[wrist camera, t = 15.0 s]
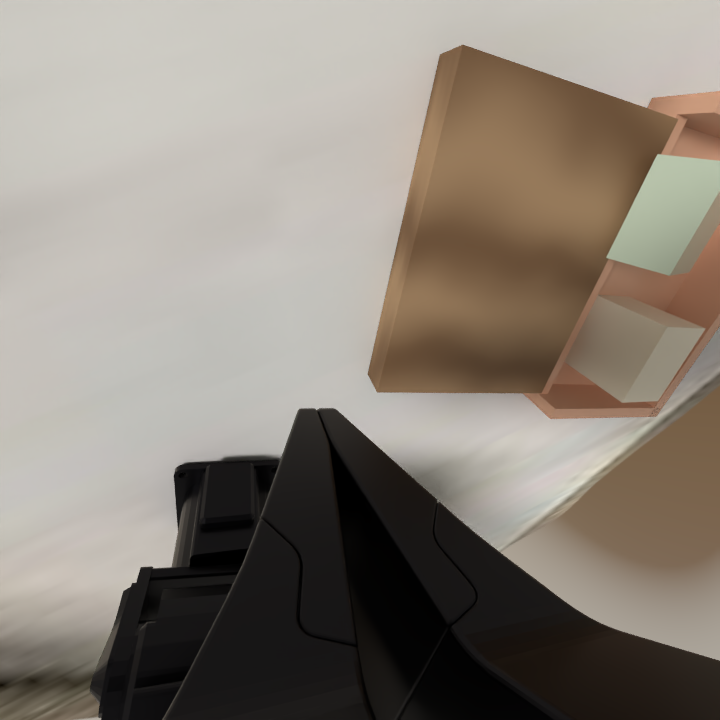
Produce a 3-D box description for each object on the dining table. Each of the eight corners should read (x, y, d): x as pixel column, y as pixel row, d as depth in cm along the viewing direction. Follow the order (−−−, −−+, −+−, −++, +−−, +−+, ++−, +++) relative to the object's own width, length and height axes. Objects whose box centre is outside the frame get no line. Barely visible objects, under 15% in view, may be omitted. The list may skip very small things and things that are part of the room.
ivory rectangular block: (562, 360, 26) (595, 360, 27) (622, 402, 22) (658, 401, 23) (594, 294, 24) (628, 296, 25) (667, 326, 20) (705, 328, 21)
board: (523, 377, 27) (541, 393, 25) (367, 374, 23) (377, 392, 21) (641, 120, 19) (678, 118, 18) (440, 54, 16) (462, 44, 14)
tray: (617, 389, 30) (656, 416, 27) (518, 389, 27) (550, 418, 24) (770, 140, 22) (849, 140, 19) (652, 97, 19) (725, 90, 16)
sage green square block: (632, 257, 23) (689, 272, 21) (605, 257, 20) (669, 275, 18) (679, 169, 21) (747, 177, 19) (657, 154, 18) (736, 162, 16)
